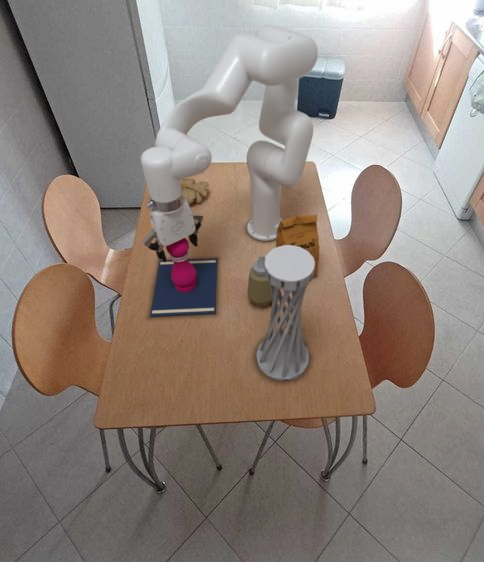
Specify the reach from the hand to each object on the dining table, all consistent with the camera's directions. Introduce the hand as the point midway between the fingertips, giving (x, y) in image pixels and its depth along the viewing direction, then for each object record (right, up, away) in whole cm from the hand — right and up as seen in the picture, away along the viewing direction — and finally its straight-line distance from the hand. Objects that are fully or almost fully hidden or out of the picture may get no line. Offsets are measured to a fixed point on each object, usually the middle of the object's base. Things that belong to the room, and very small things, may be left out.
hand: (178, 251), depth 106 cm
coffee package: (+33, -6, +16) cm, 37 cm away
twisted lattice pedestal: (+28, -28, -5) cm, 40 cm away
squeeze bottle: (+22, -14, +8) cm, 27 cm away
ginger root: (-6, +23, +40) cm, 46 cm away
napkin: (0, -10, +11) cm, 14 cm away
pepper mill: (0, -9, +11) cm, 14 cm away
